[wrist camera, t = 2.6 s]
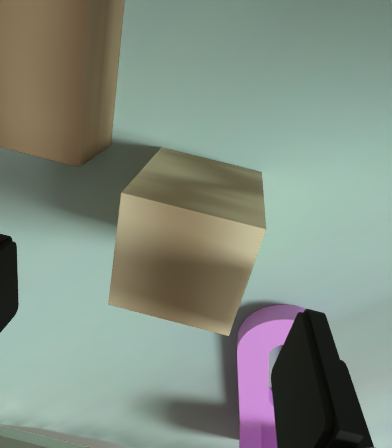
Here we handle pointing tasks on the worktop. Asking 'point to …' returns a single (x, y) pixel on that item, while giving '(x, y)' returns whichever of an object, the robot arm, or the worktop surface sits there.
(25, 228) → the worktop surface
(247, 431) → the bracket
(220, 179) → the maple block
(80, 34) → the base block
